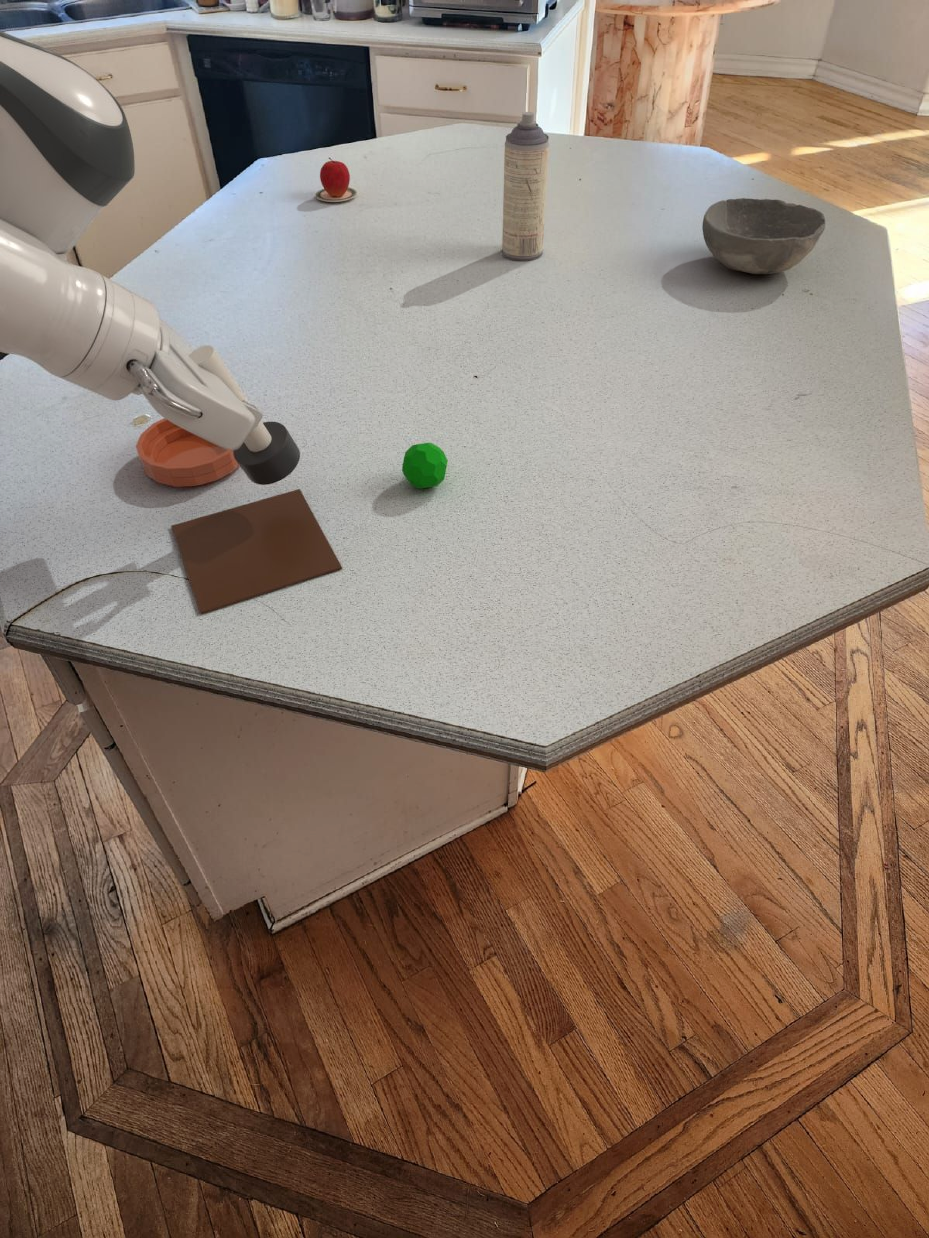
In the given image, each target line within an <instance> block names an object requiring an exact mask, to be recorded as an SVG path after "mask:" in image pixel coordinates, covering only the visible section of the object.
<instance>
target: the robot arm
mask: <svg viewBox="0 0 929 1238" xmlns="http://www.w3.org/2000/svg"><path fill="white" fill-rule="evenodd" d="M135 165H136V164H135V151H134V143H133V138H132V133H131V129H130V126H129V121H128V119H127V117H126V114H125V111H124V109H123V108H122V106H121V104H120V102H119V101H118V100H117V99H116V97H115V96H114V95H113V94H112V93H111V91H109V89H108V88H107V87H106V86H105V85H104V84H103V83H101V82H100V81H99V80H98V79H97V78H96V77H94V76H93V75H92V74H91V73H89V72H88V71H87V70H85V69H84V68H83V67H81V66H79V64H76V63H75V62H74V61H71V60H70V59H68V58H66V57H64V56H63V55H60V54H58V53H57V52H54V51H53V50H50V49H47V48H45V47H43V46H40V45H38V44H35V43H33V42H29V41H27V40H25V39H22V38H19V37H17V36H14V35H11V34H10V33H8V32H4V31H3V30H0V353H4V354H8V355H9V354H10V355H16V356H18V357H19V356H20V357H23V358H25V359H28V360H30V361H32V362H34V363H35V364H36V365H39V366H40V367H41V368H42V369H43V370H44V371H45V372H48V373H49V374H51V375H52V376H54V377H57V378H59V379H62V380H64V381H65V382H69V383H70V384H73V385H75V386H78V387H80V388H82V389H85V390H88V391H90V392H92V393H94V394H97V396H100V397H103V398H106V399H108V400H110V401H120V400H124V399H125V398H126V397H128V396H129V395H131V394H132V395H136V396H140V395H143V396H144V398H145V399H146V400H147V402H148V403H149V405H150V406H151V407H152V409H153V410H154V411H155V412H156V413H157V414H158V415H159V416H161V417H162V418H163V419H164V418H165V419H167V420H168V421H170V422H172V423H173V424H175V425H177V426H179V427H181V428H183V429H185V430H187V431H189V432H191V433H193V434H195V435H197V436H199V437H201V438H203V439H205V440H207V441H209V442H211V443H213V444H215V445H217V446H220V447H222V448H224V449H227V450H238V449H239V448H240V447H241V445H242V444H243V442H244V441H245V439H246V437H247V436H248V434H249V432H250V431H251V429H252V428H256V427H257V426H258V424H259V422H260V421H262V419H263V413H262V412H261V411H260V409H259V408H257V406H255V404H254V405H253V404H251V402H249V403H248V402H246V401H244V400H243V401H240V400H239V399H238V398H237V397H236V396H235V395H234V393H233V392H232V391H231V390H230V389H229V388H228V387H227V386H226V385H225V384H224V382H223V381H222V380H221V379H220V378H219V377H218V376H216V375H215V374H213V373H211V372H209V371H207V370H205V369H204V368H202V367H200V366H198V365H197V364H196V363H195V362H194V361H193V360H192V359H191V358H190V357H189V355H190V354H191V353H192V352H193V351H194V350H195V349H194V348H193V347H192V346H191V345H190V344H189V343H188V342H187V341H186V340H185V339H184V337H183V336H182V335H181V334H180V333H179V331H177V330H176V329H174V328H173V327H172V326H171V325H170V324H168V323H167V322H165V321H164V320H163V319H161V318H160V314H159V312H158V308H157V307H156V305H154V304H153V302H151V301H149V300H147V299H146V298H144V297H142V296H141V295H138V294H137V293H135V292H133V291H131V290H129V289H128V288H126V287H125V286H123V285H121V284H120V283H118V282H115V281H114V280H112V279H110V278H108V277H107V276H105V275H103V274H101V273H99V272H98V271H96V270H93V269H92V268H88V267H84V266H80V265H78V264H77V265H76V264H74V263H71V262H69V261H68V253H70V252H71V251H72V250H73V249H74V247H75V246H76V245H77V243H78V242H79V240H80V239H81V238H82V236H83V235H84V233H85V232H87V229H88V228H89V227H90V226H91V224H92V223H93V221H94V220H95V219H96V217H97V216H98V215H99V213H100V212H101V211H102V209H103V208H104V207H107V206H108V205H109V204H110V203H111V201H113V200H114V198H115V197H116V196H118V195H119V193H120V192H121V191H122V190H123V189H124V188H125V187H126V186H127V184H129V182H130V181H131V180H133V178H134V176H135V170H136V169H135V167H136V166H135Z"/></svg>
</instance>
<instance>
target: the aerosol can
mask: <svg viewBox="0 0 929 1238" xmlns="http://www.w3.org/2000/svg"><path fill="white" fill-rule="evenodd" d="M521 115H522V116H521V120H520V121H519V123H517V124H516V126H514V127H513V128H512V130H511V132H510V133H507V134H506V135H505V141H504V158H503V159H504V161H503V162H504V163H503V197H502V199H503V200H502V202H503V203H502V239H501V241H502V242H501V243H502V244H501V255H502V256H503V257H504V258H505V259H508V260H511V261H517V262H528V261H529V262H530V261H535V260H537V259H539V258H541V257H542V255H543V250H544V236H545V235H544V234H545V220H546V219H545V218H546V203H547V186H548V171H549V170H548V169H549V154H550V142H549V139H550V136H549V135H548V134H547V133H544V130H543V128H542V127H540V126H539V124H538V123H537V121H535V113H534V112H532V111H524V112H522V114H521Z"/></svg>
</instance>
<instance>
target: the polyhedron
mask: <svg viewBox="0 0 929 1238" xmlns="http://www.w3.org/2000/svg"><path fill="white" fill-rule="evenodd" d="M447 467H448V458H447V456H446V454H445V452H444V450H443V449H441V448H440V447H439V446H438V445H436V444H434V443H432V442H421V443H416V444H412V445H411V446H410V447H409V448H408V449H406V451H405V452H404V456H403V461H402V467H401V468H402V469H401V472H402V473H403V475H404V477H405V480H406V481H407V482H408V483H409V484H410V485H411V486H413V487H415V488H417V489H419V490H420V489H427V488H433V487H438V486H439V485H440V484H441V483H442V482H443V481H444V480H445V477H446V472H447Z"/></svg>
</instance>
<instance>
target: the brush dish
mask: <svg viewBox="0 0 929 1238" xmlns="http://www.w3.org/2000/svg"><path fill="white" fill-rule="evenodd" d="M135 448H136V451H137V453H138V457H139V460H140V462H141V465H142V467H143V470H144V472H145V473H144V474H145V475H147V476H148V477H149V478H151V479H152V480H153V481H155V482H156V483H158V484H163V485H167V486H171V487H175V488H177V487H196V486H202V485H206V484H209V483H213V482H215V481H219V480H220V479H222V478H224V477H225V476H227V475H229V474H230V473H232V472H234V471H235V470H236V469H237V468H238V467H240V465H239V464H238V463H237V461H236V460H235V458H234V454H233V450H227V449H224V448H222V447H220V446H217V445H215V444H213V443H211V442H209V441H207V440H205V439H203V438H201V437H199V436H197V435H195V434H193V433H191V432H189V431H187V430H185V429H183V428H181V427H179V426H177V425H175V424H173V423H172V422H170V421H168V420H167V419H165V418H164V417H163V418H161V419H159V420H157V421H155V422H153V423H152V424H150V426H148V428H146V429H144V431H143V432H142V433H141V434H140V435H139V437H138V440H137V442H136V444H135Z"/></svg>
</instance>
